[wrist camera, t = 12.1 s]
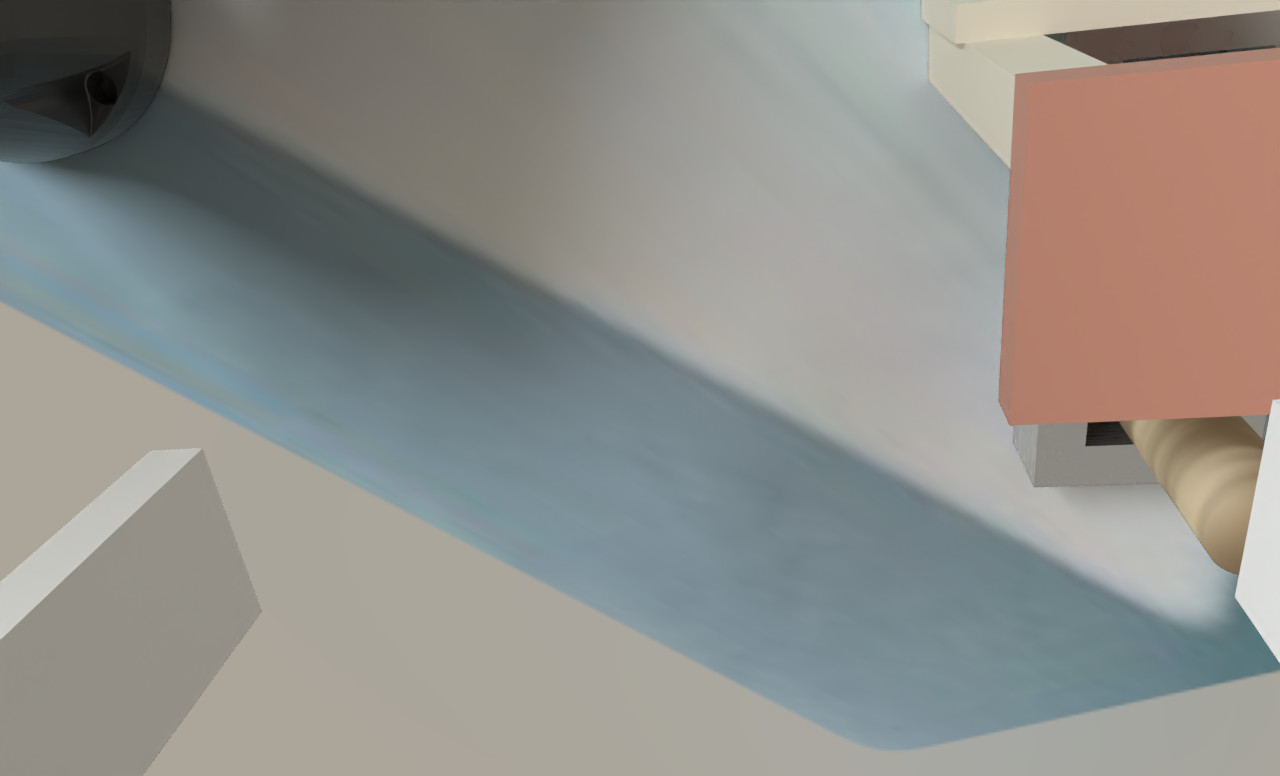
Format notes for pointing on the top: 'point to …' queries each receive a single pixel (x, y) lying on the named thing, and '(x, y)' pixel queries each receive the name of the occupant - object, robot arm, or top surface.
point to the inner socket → (1177, 37)
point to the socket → (1087, 453)
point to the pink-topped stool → (1125, 209)
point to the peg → (1205, 476)
